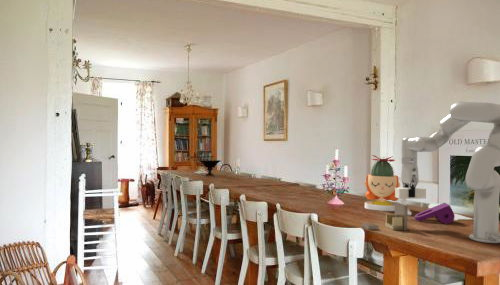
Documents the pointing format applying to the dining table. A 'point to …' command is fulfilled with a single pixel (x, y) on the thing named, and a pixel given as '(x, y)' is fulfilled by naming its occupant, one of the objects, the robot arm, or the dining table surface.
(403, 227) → the cup bracket
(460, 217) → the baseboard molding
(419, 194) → the cream rail
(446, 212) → the mounting bracket
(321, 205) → the dining table surface
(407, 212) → the seated beast figurine
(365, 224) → the rest block
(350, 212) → the dining table surface
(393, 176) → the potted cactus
